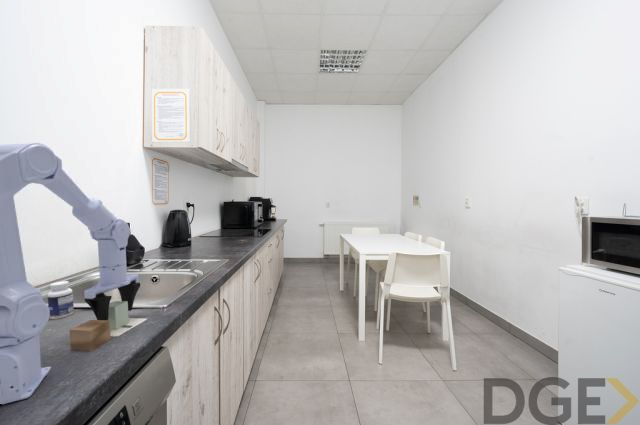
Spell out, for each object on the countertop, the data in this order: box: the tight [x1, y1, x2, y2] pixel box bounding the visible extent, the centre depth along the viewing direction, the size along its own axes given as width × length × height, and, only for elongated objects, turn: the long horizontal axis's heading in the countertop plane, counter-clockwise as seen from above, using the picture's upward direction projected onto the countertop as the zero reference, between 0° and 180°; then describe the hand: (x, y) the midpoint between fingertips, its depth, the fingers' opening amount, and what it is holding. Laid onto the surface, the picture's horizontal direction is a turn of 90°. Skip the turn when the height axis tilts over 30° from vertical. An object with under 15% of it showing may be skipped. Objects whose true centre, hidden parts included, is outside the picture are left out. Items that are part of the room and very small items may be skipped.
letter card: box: [110, 317, 148, 337], centre depth 73 cm, size 10×10×1 cm
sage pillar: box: [108, 300, 130, 330], centre depth 73 cm, size 4×4×6 cm
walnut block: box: [69, 319, 112, 352], centre depth 64 cm, size 5×5×5 cm
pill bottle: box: [47, 280, 75, 320], centre depth 81 cm, size 5×5×10 cm
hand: (115, 316), depth 73 cm, fingers open, 7 cm apart
